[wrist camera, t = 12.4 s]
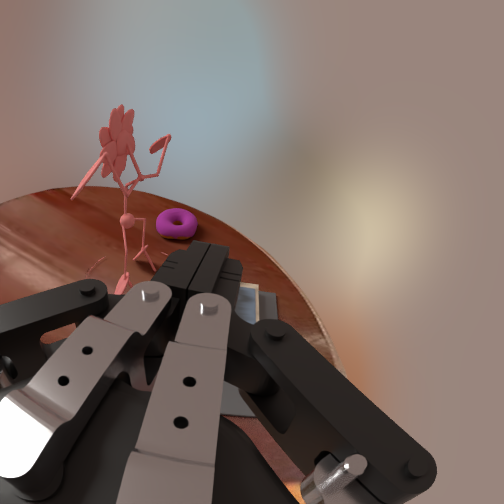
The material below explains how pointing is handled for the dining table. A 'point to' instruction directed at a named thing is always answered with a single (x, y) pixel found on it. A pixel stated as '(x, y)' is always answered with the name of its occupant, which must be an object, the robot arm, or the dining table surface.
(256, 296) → the birch picture frame
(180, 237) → the donut
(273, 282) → the dining table surface
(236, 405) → the rubber mat
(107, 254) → the dining table surface
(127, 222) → the figurine
